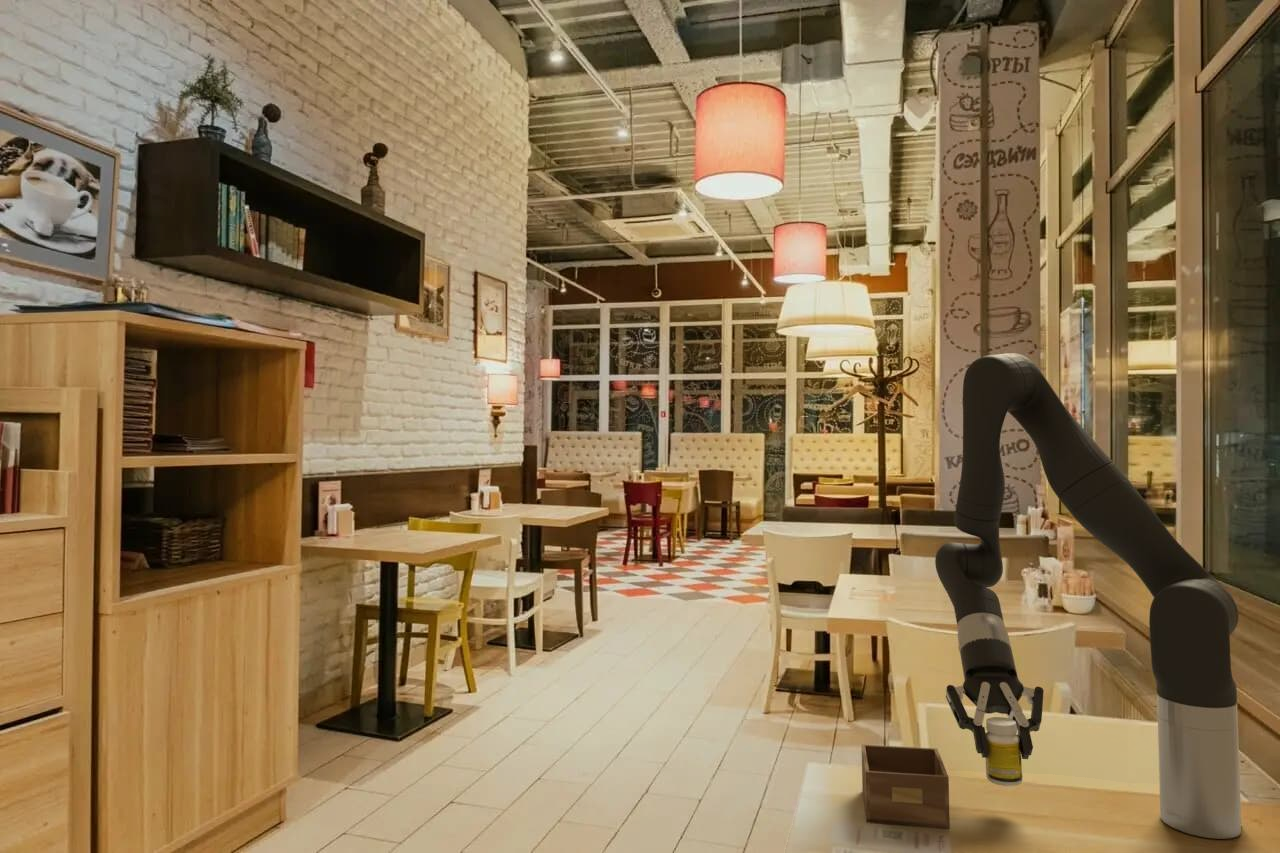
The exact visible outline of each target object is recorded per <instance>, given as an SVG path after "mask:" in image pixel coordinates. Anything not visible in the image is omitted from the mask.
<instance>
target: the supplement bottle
mask: <svg viewBox="0 0 1280 853" xmlns="http://www.w3.org/2000/svg"><path fill="white" fill-rule="evenodd" d="M985 720H986V721H985V722H986V723H985V724H986V725H985V726H986V727H985V728H986V732H985V733H986V738H987V744H988V750H989V754H988V758H985V771H986V773H985V774H986V779H987V780H988V781H989V782H990V783H992V784H994V785H997V786H1003V787H1013V786H1015V787H1016V786H1018V785H1021V784H1022V783H1023V767H1022V766H1023V765H1022V756H1021V747H1020V738H1019V736H1018V731H1017V726H1016V721H1014V720H1012V719H1009V718H1008V717H1003V716H1002V717H1000V716H995V717H989V718H987V719H985Z"/></svg>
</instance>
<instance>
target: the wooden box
mask: <svg viewBox="0 0 1280 853" xmlns="http://www.w3.org/2000/svg"><path fill="white" fill-rule="evenodd" d="M940 754H941V753H940V752H939V749H938V748H936V747H935V748H933V747H932V748H931V747H917V746H913V747H912V746H896V745H895V746H894V745H875V744H861V776H862V777H861V780H862V781H861V783H862V788H861V789H862V798H863V805H864V812H865V820H866V823H868V824H879V825H880V824H881V825H892V826H893V825H894V826H896V825H897V826H906V827H922V828H934V829H935V828H936V829H951V827H950V826H951V825H950V819H951V818H950V816H951V815H950V788H949V787H950V785H949V783H950V782H949V781H950V780H949V778H950V777H949V775H948V772H947V769H946V767H945V764H944V762H943V759H942V757H941V755H940Z"/></svg>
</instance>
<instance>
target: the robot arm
mask: <svg viewBox="0 0 1280 853" xmlns="http://www.w3.org/2000/svg"><path fill="white" fill-rule="evenodd" d="M1007 412H1008V414H1010V415H1011V416H1012V417H1013V418H1014V419H1015V420H1016V421H1017V422H1018V424H1019V425H1020V426H1021V427H1022V428H1023V429H1024V431H1025V432H1026V433H1027V434H1028V435H1029V437H1030V438H1031V440H1032V442H1033V443H1034V445H1035V447H1036V450H1037V452H1038V456H1039V458H1040V461H1041V466H1042V469H1043V471H1044V474H1045V477H1046V480H1047V481H1048V484H1049V485H1050V488H1051V490H1052V491H1053V492H1054V494H1055V496H1057V498H1058V499H1059V501H1060V502H1061V503H1062V505H1063V506H1064V507H1065V508H1066V509H1067V510H1068V512H1069V513H1070V514H1071V515H1072V517H1073V518H1074V519H1075V520H1076V521H1077V522H1078V523H1079V524H1080V525H1081V526H1082V527H1083V529H1085V531H1087V532H1088V533H1089V534H1090V535H1092V536H1093V537H1094V539H1097V541H1099V542H1100V543H1101V544H1102V545H1104V546H1105V547H1106V548H1107V549H1109V550H1110V551H1112V552H1113V553H1114V554H1115V555H1117V556H1118V557H1119V558H1121V560H1123V561H1124V562H1125V563H1126V565H1128V566H1129V567H1130V569H1132V570H1133V571H1134V572H1135V574H1136V575H1137V576H1138V578H1139V579H1140V580H1141V581H1142V583H1143V584H1144V585H1145V587H1146V588H1147V590H1148V591H1149V592H1150V594H1151V596H1152V597H1153V599H1152V602H1151V605H1150V609H1149V621H1148V622H1149V623H1148V624H1149V640H1150V641H1149V643H1150V644H1149V645H1150V658H1151V669H1152V673H1153V676H1154V679H1155V683H1156V706H1157V708H1156V709H1157V711H1156V712H1157V734H1158V735H1157V736H1158V738H1157V742H1158V769H1159V770H1158V772H1159V776H1158V778H1159V812H1160V813H1159V817H1160V819H1161V820H1162V821H1163V823H1165V824H1166V825H1167V826H1169V827H1171V828H1173V829H1175V830H1178V831H1180V832H1183V833H1186V834H1189V835H1193V836H1195V837H1196V836H1197V837H1201V838H1207V839H1215V840H1216V839H1217V840H1220V839H1221V840H1223V839H1224V840H1226V839H1233V838H1236V837H1238V836H1240V835H1241V833H1242V831H1241V830H1242V827H1241V825H1242V804H1241V774H1240V773H1241V772H1240V769H1241V768H1240V755H1239V754H1240V752H1239V751H1240V750H1239V724H1238V723H1239V722H1238V721H1239V720H1238V694H1237V693H1238V691H1237V685H1236V682H1235V680H1234V678H1233V674H1232V664H1231V663H1232V661H1231V641H1230V640H1231V639H1230V638H1231V635H1232V634H1233V632H1234V631H1235V630H1236V628H1237V626H1238V623H1239V610H1238V606H1237V603H1236V601H1235V599H1234V598H1233V596H1232V594H1231V593H1230V592H1229V591H1228V590H1227V589H1226V588H1225V586H1223V584H1221V583H1220V582H1219V581H1218V580H1217V579H1216V578H1215V577H1214V576H1213V575H1212V574H1211V573H1210V572H1209V571H1207V569H1205V567H1203V565H1201V563H1199V562H1198V561H1197V560H1196V559H1195V558H1194V557H1193V556H1192V554H1190V553H1189V552H1188V551H1187V550H1186V549H1185V548H1184V546H1182V545H1181V544H1180V543H1179V542H1178V540H1176V538H1175V537H1174V536H1173V535H1172V533H1171V532H1170V531H1169V530H1168V528H1167V527H1166V526H1165V524H1164V523H1163V522H1162V520H1161V519H1160V518H1159V516H1158V515H1157V514H1156V512H1155V511H1154V509H1153V508H1152V507H1151V506H1150V505H1149V503H1148V502H1147V501H1146V500H1145V499H1144V498H1143V496H1142V495H1141V494H1140V493H1139V491H1138V490H1137V489H1136V488H1135V486H1134V484H1132V482H1131V481H1130V480H1129V479H1128V478H1127V476H1126V475H1125V474H1124V473H1123V472H1122V471H1121V469H1119V467H1118V466H1117V465H1116V463H1114V461H1113V460H1112V459H1111V458H1110V457H1109V456H1108V455H1107V453H1106V452H1105V451H1104V450H1103V449H1102V448H1101V447H1100V446H1099V445H1098V444H1097V442H1096V441H1095V440H1094V439H1093V437H1091V435H1090V434H1089V433H1088V432H1087V431H1086V429H1084V427H1083V426H1082V425H1081V424H1080V422H1078V421H1077V419H1075V418H1074V416H1073V415H1072V414H1071V413H1070V412H1069V410H1068V409H1067V407H1066V406H1065V405H1064V403H1063V401H1062V400H1061V399H1060V397H1059V396H1058V395H1057V393H1056V392H1055V390H1054V389H1053V387H1052V386H1051V385H1050V383H1049V381H1048V380H1047V379H1046V377H1045V375H1044V374H1043V372H1042V371H1041V370H1040V369H1039V367H1038V366H1037V365H1036V363H1034V362H1033V361H1032V360H1031V359H1030V358H1028V357H1027V356H1025V355H1023V354H1020V353H1015V352H1011V353H1010V352H1009V353H1008V352H1006V353H999V354H998V353H997V354H988V355H984V356H982V357H978V358H977V359H975V360H974V361H972V363H971V364H969V366H968V367H967V369H966V370H965V374H964V377H963V384H962V418H963V419H962V458H961V459H962V462H961V473H960V480H959V487H958V492H957V497H956V498H957V499H956V504H955V511H954V518H953V520H954V521H953V524H954V526H955V528H956V529H957V530H958V531H960V532H962V533H964V534H967V535H970V536H973V537H977V538H979V539H980V543H979V544H977V543H976V544H975V543H964V542H963V543H962V542H954V541H953V542H946V543H944V544H942V545H941V546H939V548H938V550H937V552H936V554H935V560H934V562H935V564H934V565H935V570H936V573H937V576H938V579H939V581H940V583H941V584H942V586H943V588H944V591H946V594H947V596H948V597H949V600H950V602H951V604H952V606H953V610H954V616H955V621H956V627H957V643H958V644H957V645H958V647H957V648H958V652H959V655H960V660H961V666H962V672H963V677H964V681H963V683H962V685H959V686H954V685H952V684H948V685H947V686H946V689H945V690H946V691H945V699H946V701H947V703H948V705H949V707H950V710H951V712H952V714H953V717H954V718H955V721H956V722H957V725H958V727H959V729H960V730H969V731H971V732H972V734H973V738H974V739H973V740H974V745H975V750H976V752H977V754H981V757H982V759H983V758H985V759H986V758H988V754H989V750H988V744H987V738H986V733H987V732H986V729H985V728H986V727H985V726H983V723H984V719H985V716H986V715H985V714H994V713H997V714H1001V715H1006V716H1007V718H1009V719H1012V720H1014V721H1016V726H1017V735H1018V736H1019V738H1020V747H1021V760H1029V757H1030V756H1032V753H1033V748H1034V746H1033V741H1032V737H1031V736H1032V735H1031V732H1038V731H1039V730H1040V728H1041V723H1042V720H1043V719H1042V717H1043V705H1044V694H1045V693H1044V688H1043V687H1041V686H1035V688H1031V687H1027V686H1024V685H1023V683H1022V682H1021V680H1020V679H1019V677H1018V672H1017V669H1016V664H1015V658H1014V655H1013V649H1012V645H1011V640H1010V636H1009V633H1008V630H1007V627H1006V625H1005V622H1004V617H1003V616H1004V615H1003V611H1002V608H1001V603H1000V600H999V597H998V595H997V593H996V591H994V590H992V589H991V588H992V587H994V586H995V585H997V584H998V583H999V582H1000V580H1001V579H1002V577H1003V572H1004V568H1003V567H1004V565H1003V557H1002V552H1001V546H1000V545H1001V544H1000V520H1001V517H1002V511H1003V510H1002V509H1003V506H1004V505H1003V504H1004V499H1005V498H1004V497H1005V491H1006V489H1005V488H1006V487H1005V486H1006V482H1005V472H1004V468H1003V462H1002V458H1001V434H1002V429H1003V425H1004V422H1005V420H1006V419H1005V418H1006V416H1007ZM964 695H965V696H966V697H967V699H969V701H970V702H972V703H973V704H974V705H975V707H976V709H975V712H974V715H973V716H974V718H973V717H971V716H969V715H968V713H967V711H966V708H965V706H964V705H963V699H964V697H963V696H964ZM1022 696H1024V697H1025V698H1026V701H1027V703H1028V704H1029V705H1031V710H1030V711H1031V712H1030V713H1031V714H1030V718H1027V717H1026V715H1025V713H1024V712H1023V709H1022V706H1021V704H1020V703H1019V701H1020V700H1021V697H1022Z"/></svg>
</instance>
